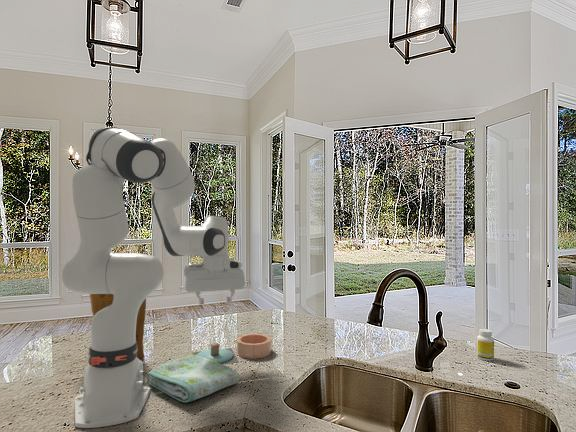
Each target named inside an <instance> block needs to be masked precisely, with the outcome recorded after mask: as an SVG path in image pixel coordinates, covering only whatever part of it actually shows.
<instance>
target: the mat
mask: <svg viewBox="0 0 576 432" xmlns="http://www.w3.org/2000/svg"><path fill="white" fill-rule="evenodd" d="M225 349H226V350H229V351H231V352H232V353H233V358H232V359H231V360H229V361H227V362H224V363H220V364H222V365H229V364H238V363H240V362H239V359H238V358H237V355H236V354H235V352H234V350H233V349H232V348H225ZM199 352H200V351H194V352H193V351H192V355H197V354H198V353H199Z"/></svg>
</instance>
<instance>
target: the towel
mask: <svg viewBox="0 0 576 432" xmlns="http://www.w3.org/2000/svg"><path fill="white" fill-rule="evenodd" d="M147 374H148V381H149V382H148V383H149V385H150V386H151V387H153V388H155V389H156V390H158V391H160V392H162V393H165V394H166V395H168V396H169V397H171V398H173V399H175V400H177V401H178V402H181V403H189V402H193V401H196V400H198V399H201V398H203V397H204V398H205V397H206V396H209V395H211V394H213V393H216V392H217V391H221V390H222V389H225V388H227V387H230V386H232V385H233V386H234V385H235V384H237V383H238V382H239V381H240V379H241V375H240V374H239V372H238V371H237V370H234V369H233V368H232V367H229V366H227V365H226V364H219V363H217V362H215V361H212V360H210V359H206V358H203V357H201V356H198V355H193V354H189V355H186V356H183V357H180V358H177V359H174V360H170V361H168V362H166V363H164V364H163V363H162V364H160V365H159V366H156V367H154V368H152V369H151V370H150V371H149V372H148V373H147Z"/></svg>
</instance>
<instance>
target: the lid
mask: <svg viewBox="0 0 576 432" xmlns="http://www.w3.org/2000/svg"><path fill="white" fill-rule="evenodd" d="M226 349H227V348H220V343H218V342H214V343H210V349H205V350H203V351H198V352H199V353H198V354H197V355H198V356H201V357H203V358H206V359H210V360H212V361H215V362H217V363H219V364H220V363H224V362H227V361H229V360H231V359H232V358H233V353H232V352H231V351H229V350H226Z"/></svg>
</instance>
